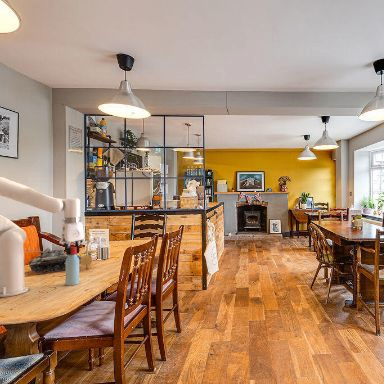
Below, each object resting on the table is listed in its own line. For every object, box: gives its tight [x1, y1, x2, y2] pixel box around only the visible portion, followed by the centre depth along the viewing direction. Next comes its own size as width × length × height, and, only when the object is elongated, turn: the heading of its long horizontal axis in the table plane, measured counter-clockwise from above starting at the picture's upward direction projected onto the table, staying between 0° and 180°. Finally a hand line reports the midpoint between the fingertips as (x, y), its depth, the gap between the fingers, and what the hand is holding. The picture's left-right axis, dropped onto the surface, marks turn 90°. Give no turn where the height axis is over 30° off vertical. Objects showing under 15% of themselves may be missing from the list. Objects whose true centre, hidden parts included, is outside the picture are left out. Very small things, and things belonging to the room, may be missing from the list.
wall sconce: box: [80, 230, 98, 270], centre depth 187 cm, size 14×10×25 cm
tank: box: [25, 247, 83, 275], centre depth 185 cm, size 16×31×15 cm, turn 132°
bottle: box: [64, 254, 80, 286], centre depth 157 cm, size 6×6×20 cm
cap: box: [70, 246, 78, 255], centre depth 157 cm, size 4×4×4 cm
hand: (72, 253), depth 157 cm, fingers closed on cap, 3 cm apart
